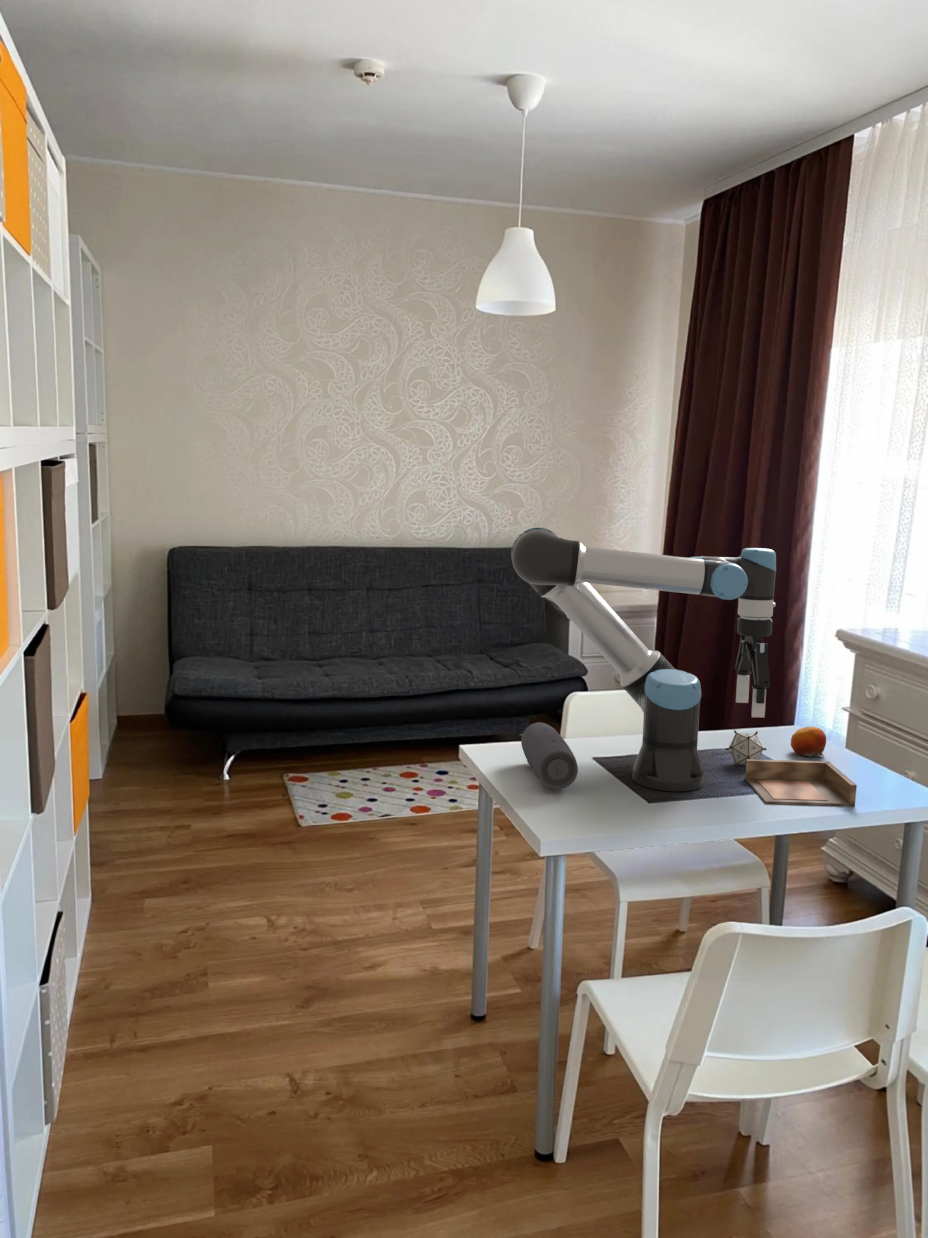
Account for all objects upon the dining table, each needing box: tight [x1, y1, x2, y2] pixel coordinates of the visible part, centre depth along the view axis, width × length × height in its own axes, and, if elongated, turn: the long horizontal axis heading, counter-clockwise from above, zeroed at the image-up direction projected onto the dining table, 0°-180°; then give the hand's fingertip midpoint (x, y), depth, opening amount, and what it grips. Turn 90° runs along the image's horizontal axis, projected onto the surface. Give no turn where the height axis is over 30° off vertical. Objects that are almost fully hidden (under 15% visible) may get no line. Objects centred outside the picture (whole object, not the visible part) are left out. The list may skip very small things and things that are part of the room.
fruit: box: [790, 726, 827, 758], centre depth 232 cm, size 8×8×8 cm
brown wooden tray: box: [744, 759, 858, 807], centre depth 204 cm, size 18×16×4 cm
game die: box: [725, 729, 768, 768], centre depth 222 cm, size 9×8×10 cm
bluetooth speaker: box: [520, 722, 579, 790], centre depth 210 cm, size 23×9×10 cm, turn 6°
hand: (749, 709), depth 221 cm, fingers open, 13 cm apart
